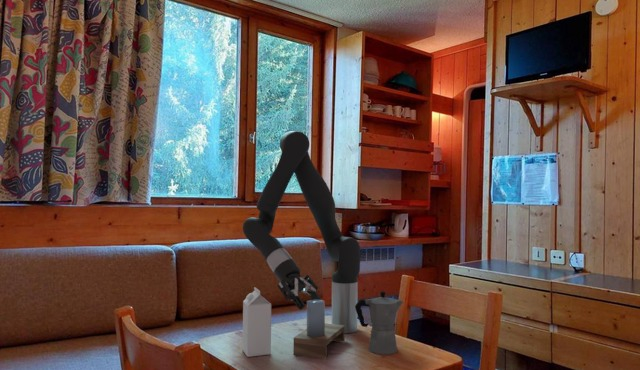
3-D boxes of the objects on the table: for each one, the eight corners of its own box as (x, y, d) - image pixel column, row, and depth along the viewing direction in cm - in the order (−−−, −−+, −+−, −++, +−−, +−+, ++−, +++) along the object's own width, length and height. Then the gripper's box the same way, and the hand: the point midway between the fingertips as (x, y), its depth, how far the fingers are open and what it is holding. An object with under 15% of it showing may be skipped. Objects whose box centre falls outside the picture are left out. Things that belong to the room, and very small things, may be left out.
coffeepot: (397, 344, 147) (397, 287, 148) (408, 353, 138) (408, 293, 139) (351, 346, 144) (351, 289, 145) (359, 356, 135) (359, 294, 136)
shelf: (316, 337, 154) (316, 322, 155) (344, 340, 151) (344, 325, 151) (293, 354, 137) (293, 337, 137) (324, 358, 133) (325, 341, 133)
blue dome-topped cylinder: (310, 331, 144) (310, 299, 144) (327, 332, 142) (327, 300, 143) (303, 335, 139) (304, 302, 139) (320, 337, 137) (321, 303, 137)
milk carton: (265, 348, 143) (265, 286, 144) (270, 354, 136) (271, 290, 137) (242, 350, 140) (243, 287, 141) (247, 357, 134) (248, 291, 135)
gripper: (274, 260, 142) (304, 302, 135) (302, 255, 153) (331, 294, 146) (262, 275, 145) (290, 317, 137) (290, 270, 156) (317, 309, 149)
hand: (311, 305), depth 142 cm, fingers open, 8 cm apart
